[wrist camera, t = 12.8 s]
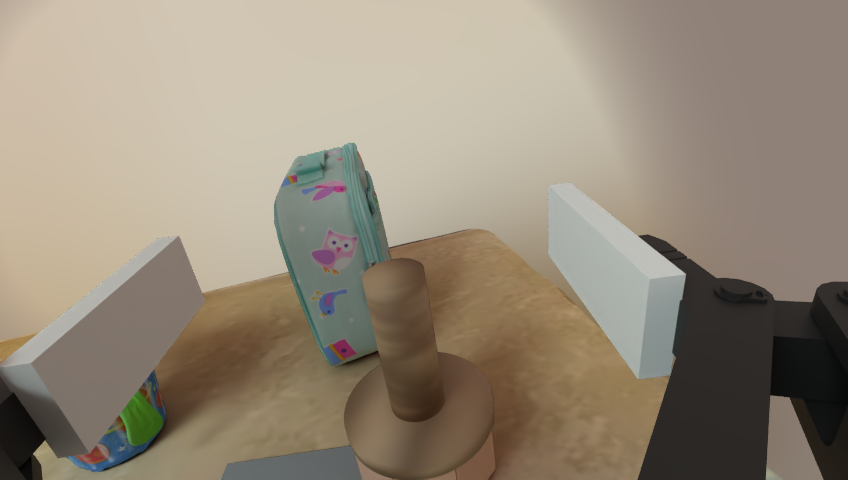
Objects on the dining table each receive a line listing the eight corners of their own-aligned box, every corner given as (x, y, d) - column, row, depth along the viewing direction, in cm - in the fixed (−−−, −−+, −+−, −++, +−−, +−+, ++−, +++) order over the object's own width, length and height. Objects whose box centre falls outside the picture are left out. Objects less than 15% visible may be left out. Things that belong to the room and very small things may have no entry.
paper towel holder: (338, 492, 27) (286, 338, 22) (355, 373, 37) (322, 249, 32) (510, 466, 27) (496, 307, 22) (480, 354, 37) (466, 227, 32)
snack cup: (36, 445, 42) (-23, 363, 37) (148, 377, 49) (109, 303, 45) (88, 532, 32) (18, 436, 28) (217, 432, 40) (176, 345, 36)
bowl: (362, 531, 29) (347, 483, 27) (371, 418, 39) (360, 375, 37) (505, 510, 29) (500, 460, 27) (480, 402, 38) (475, 358, 36)
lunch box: (421, 370, 44) (384, 167, 35) (321, 397, 42) (256, 191, 33) (387, 262, 68) (360, 125, 59) (323, 276, 66) (285, 139, 58)
